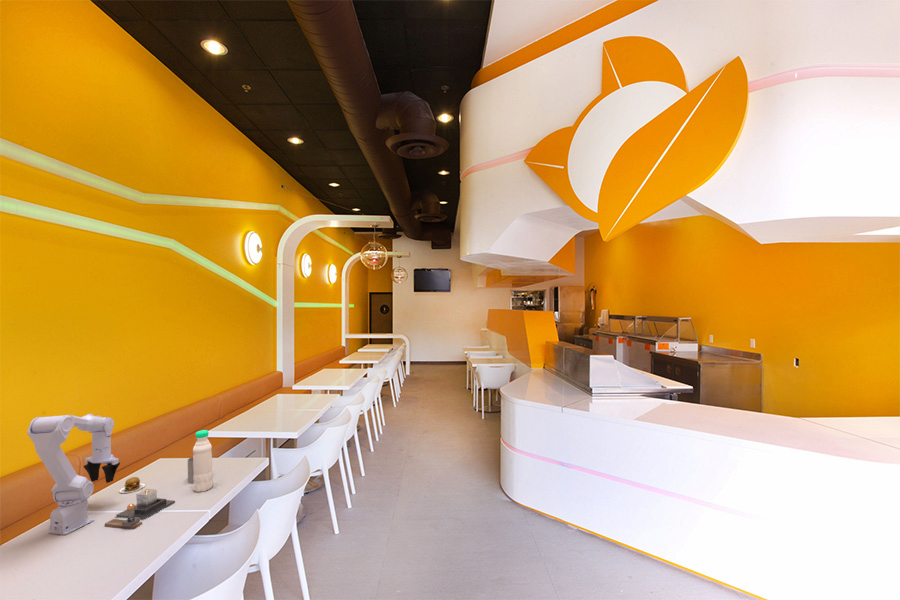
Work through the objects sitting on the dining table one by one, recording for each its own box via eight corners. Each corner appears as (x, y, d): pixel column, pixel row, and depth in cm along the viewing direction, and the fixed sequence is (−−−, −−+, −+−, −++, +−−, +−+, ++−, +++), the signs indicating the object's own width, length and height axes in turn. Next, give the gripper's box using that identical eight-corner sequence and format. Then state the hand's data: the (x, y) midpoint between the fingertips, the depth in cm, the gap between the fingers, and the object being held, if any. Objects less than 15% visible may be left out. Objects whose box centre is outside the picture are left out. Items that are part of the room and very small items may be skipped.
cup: (190, 478, 184) (189, 456, 184) (210, 474, 188) (210, 453, 188) (186, 485, 177) (186, 462, 177) (208, 481, 180) (207, 459, 180)
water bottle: (216, 485, 175) (215, 428, 176) (205, 492, 168) (203, 433, 169) (201, 485, 176) (200, 428, 177) (189, 492, 169) (188, 433, 170)
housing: (146, 510, 153) (145, 492, 153) (136, 509, 154) (136, 492, 154) (157, 504, 157) (156, 487, 157) (147, 504, 158) (147, 486, 158)
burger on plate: (116, 499, 166) (116, 486, 166) (113, 491, 174) (112, 478, 174) (151, 489, 174) (151, 477, 175) (147, 482, 183) (146, 470, 183)
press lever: (130, 526, 141) (129, 506, 141) (122, 525, 142) (121, 506, 142) (140, 520, 145) (139, 501, 145) (132, 520, 145) (131, 501, 146)
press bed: (144, 519, 148) (144, 513, 148) (116, 517, 150) (116, 510, 150) (175, 502, 160) (174, 496, 160) (148, 500, 163) (148, 494, 163)
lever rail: (133, 529, 141) (133, 526, 141) (104, 526, 144) (104, 523, 144) (142, 524, 144) (142, 521, 144) (113, 521, 147) (113, 518, 147)
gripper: (126, 444, 162) (126, 477, 162) (98, 443, 165) (98, 475, 165) (107, 451, 155) (108, 485, 155) (79, 449, 158) (79, 483, 158)
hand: (102, 481), depth 160 cm, fingers open, 7 cm apart
